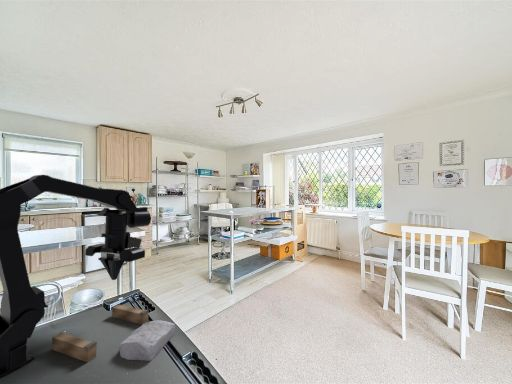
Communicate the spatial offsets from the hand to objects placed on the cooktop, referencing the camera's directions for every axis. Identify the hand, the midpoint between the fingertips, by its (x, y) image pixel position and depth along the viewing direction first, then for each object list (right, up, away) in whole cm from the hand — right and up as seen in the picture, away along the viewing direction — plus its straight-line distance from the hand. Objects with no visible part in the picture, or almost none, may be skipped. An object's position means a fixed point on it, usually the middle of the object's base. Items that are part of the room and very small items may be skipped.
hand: (114, 279), depth 70 cm
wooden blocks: (+3, -12, -8) cm, 15 cm away
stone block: (+16, -13, -12) cm, 24 cm away
